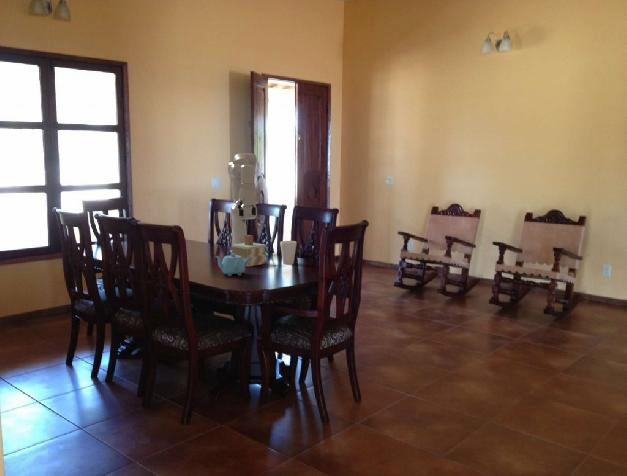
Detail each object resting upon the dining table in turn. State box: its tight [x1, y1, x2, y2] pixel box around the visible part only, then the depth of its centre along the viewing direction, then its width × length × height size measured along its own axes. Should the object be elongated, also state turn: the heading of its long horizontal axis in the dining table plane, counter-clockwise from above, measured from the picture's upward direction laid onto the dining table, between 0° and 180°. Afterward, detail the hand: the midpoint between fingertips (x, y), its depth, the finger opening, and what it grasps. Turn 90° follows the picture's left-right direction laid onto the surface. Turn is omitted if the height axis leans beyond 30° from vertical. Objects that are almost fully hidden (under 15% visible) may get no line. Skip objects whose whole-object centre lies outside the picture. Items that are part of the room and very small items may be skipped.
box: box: [231, 246, 267, 267], centre depth 321 cm, size 14×14×10 cm
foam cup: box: [279, 240, 297, 265], centre depth 322 cm, size 10×9×13 cm
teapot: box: [214, 253, 251, 277], centre depth 289 cm, size 15×14×11 cm
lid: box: [231, 234, 267, 249], centre depth 320 cm, size 15×15×8 cm
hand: (247, 215), depth 318 cm, fingers open, 9 cm apart
